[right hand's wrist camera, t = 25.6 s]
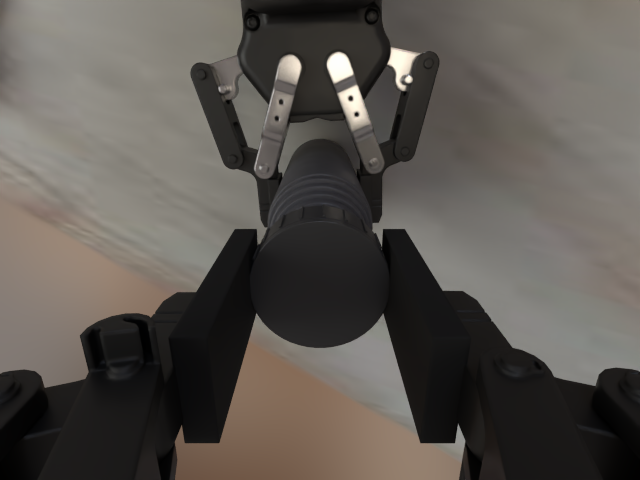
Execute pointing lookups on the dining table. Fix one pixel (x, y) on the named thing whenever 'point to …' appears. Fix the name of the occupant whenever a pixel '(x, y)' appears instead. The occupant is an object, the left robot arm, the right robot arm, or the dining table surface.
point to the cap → (319, 277)
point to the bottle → (320, 182)
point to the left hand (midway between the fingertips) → (322, 229)
